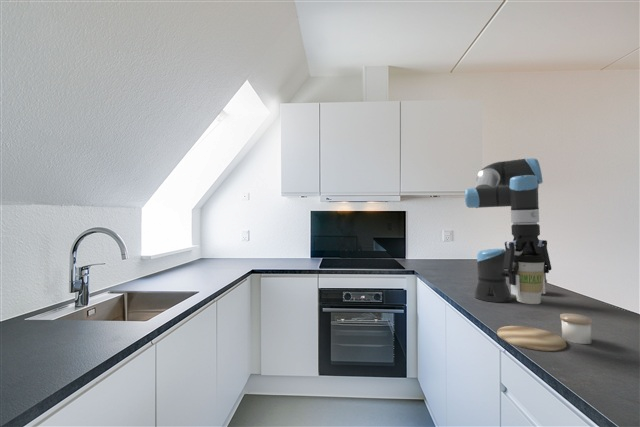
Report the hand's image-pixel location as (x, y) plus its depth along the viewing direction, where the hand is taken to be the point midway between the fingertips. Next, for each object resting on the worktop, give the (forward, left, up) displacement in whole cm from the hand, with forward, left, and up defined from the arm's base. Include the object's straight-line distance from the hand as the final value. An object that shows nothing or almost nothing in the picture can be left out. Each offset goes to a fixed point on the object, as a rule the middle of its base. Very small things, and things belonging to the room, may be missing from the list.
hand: (528, 293), depth 95 cm
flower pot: (-45, +49, -15) cm, 68 cm away
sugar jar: (+4, +13, -14) cm, 20 cm away
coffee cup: (0, 0, -3) cm, 3 cm away
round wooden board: (0, 0, -14) cm, 14 cm away
